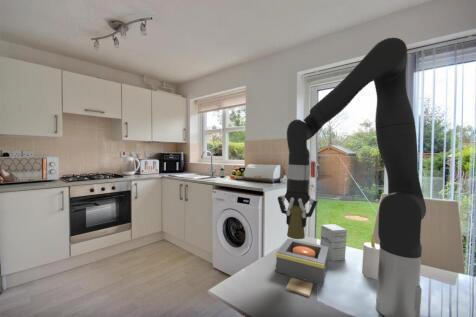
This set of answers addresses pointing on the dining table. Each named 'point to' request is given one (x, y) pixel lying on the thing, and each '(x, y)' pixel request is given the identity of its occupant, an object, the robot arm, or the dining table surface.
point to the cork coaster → (299, 287)
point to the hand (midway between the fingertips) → (295, 226)
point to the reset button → (304, 251)
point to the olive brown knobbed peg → (295, 223)
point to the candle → (371, 259)
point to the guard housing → (302, 261)
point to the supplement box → (334, 241)
